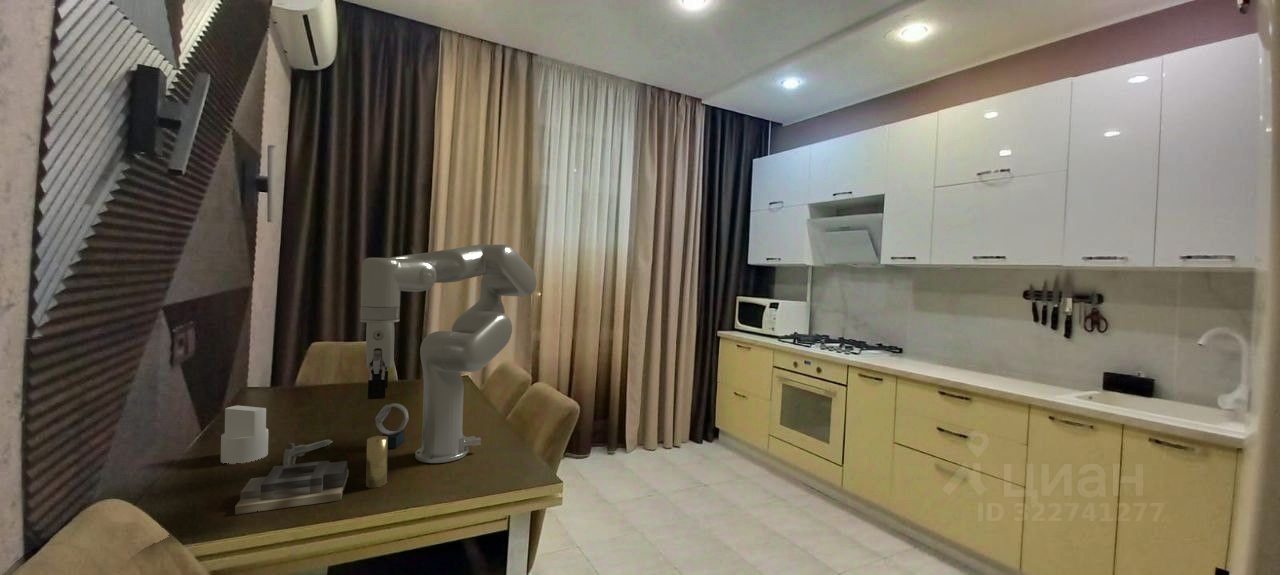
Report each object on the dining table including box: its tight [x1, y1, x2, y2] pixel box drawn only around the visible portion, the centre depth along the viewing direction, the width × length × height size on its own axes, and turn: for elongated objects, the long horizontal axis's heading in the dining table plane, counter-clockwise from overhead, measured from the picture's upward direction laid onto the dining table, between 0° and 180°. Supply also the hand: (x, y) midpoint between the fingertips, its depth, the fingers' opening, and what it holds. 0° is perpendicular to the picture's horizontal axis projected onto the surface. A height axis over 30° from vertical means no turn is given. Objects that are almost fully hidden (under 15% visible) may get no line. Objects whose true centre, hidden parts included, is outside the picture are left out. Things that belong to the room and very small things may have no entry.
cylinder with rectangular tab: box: [220, 405, 269, 465], centre depth 119 cm, size 9×9×12 cm
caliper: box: [282, 439, 334, 465], centre depth 122 cm, size 20×1×6 cm, turn 7°
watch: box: [374, 402, 410, 450], centre depth 131 cm, size 6×8×11 cm
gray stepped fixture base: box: [234, 460, 350, 516], centre depth 101 cm, size 17×13×4 cm
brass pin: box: [365, 435, 388, 489], centre depth 107 cm, size 4×4×10 cm
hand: (378, 393), depth 106 cm, fingers open, 9 cm apart
